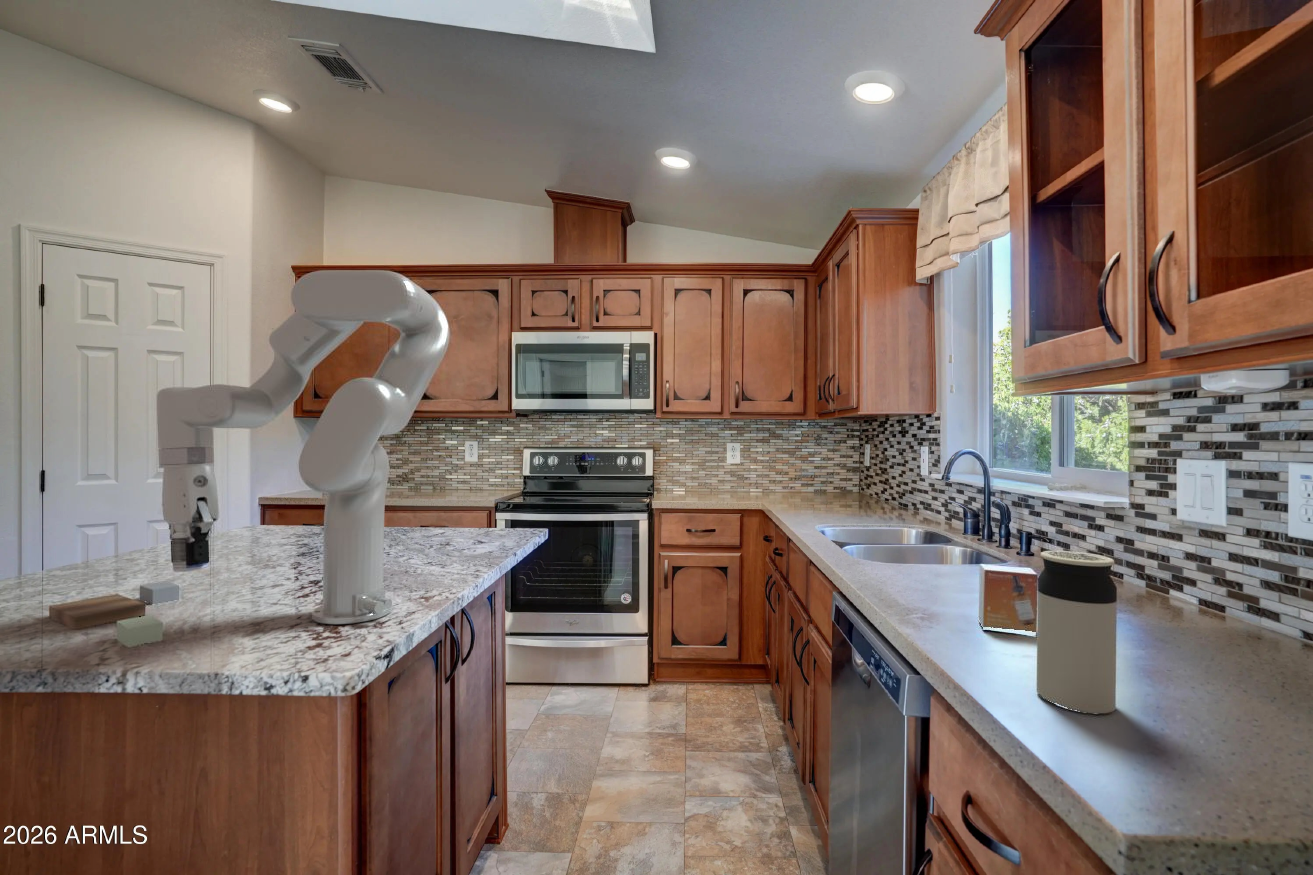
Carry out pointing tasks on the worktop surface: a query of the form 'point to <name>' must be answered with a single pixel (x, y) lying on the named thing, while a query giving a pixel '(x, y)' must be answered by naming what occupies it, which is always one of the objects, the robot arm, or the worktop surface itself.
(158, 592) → the grey brick
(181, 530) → the pill bottle
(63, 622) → the walnut block
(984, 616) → the small box
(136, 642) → the sage brick
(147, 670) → the worktop surface
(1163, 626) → the worktop surface
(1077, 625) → the travel mug
